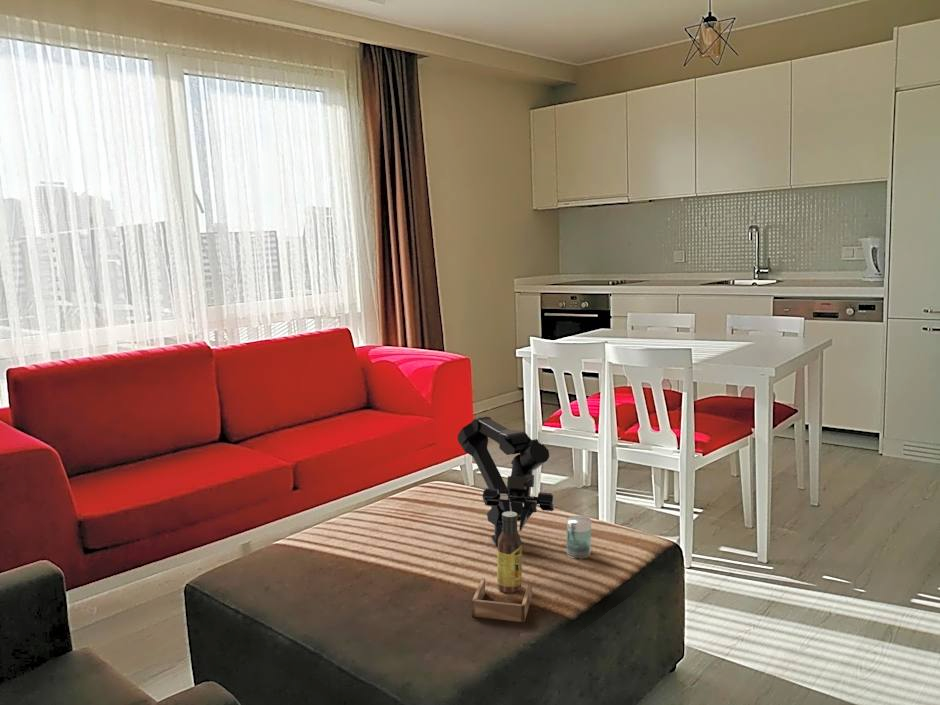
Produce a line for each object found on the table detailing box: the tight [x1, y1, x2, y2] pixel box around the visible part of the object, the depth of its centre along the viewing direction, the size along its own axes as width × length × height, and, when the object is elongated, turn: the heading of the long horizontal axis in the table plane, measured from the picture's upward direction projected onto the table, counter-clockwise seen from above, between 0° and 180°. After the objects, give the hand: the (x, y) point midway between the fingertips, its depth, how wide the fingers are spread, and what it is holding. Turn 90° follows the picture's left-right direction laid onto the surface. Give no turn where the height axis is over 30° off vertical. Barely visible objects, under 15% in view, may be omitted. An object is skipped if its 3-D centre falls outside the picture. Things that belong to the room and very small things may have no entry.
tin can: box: [566, 515, 592, 559], centre depth 220 cm, size 7×7×10 cm
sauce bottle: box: [496, 511, 523, 594], centre depth 199 cm, size 7×6×20 cm
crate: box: [471, 577, 533, 623], centre depth 191 cm, size 12×13×4 cm
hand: (514, 529), depth 206 cm, fingers open, 3 cm apart
